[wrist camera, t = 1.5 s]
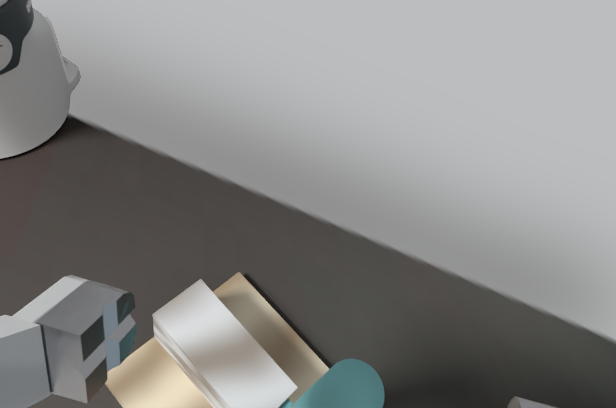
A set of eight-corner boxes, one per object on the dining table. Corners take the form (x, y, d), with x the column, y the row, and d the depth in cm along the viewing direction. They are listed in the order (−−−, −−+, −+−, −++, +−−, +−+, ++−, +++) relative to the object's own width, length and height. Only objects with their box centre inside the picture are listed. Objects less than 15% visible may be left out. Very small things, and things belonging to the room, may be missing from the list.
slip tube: (169, 333, 38) (169, 232, 25) (199, 310, 39) (214, 203, 26) (318, 512, 34) (416, 506, 20) (345, 477, 35) (452, 451, 22)
